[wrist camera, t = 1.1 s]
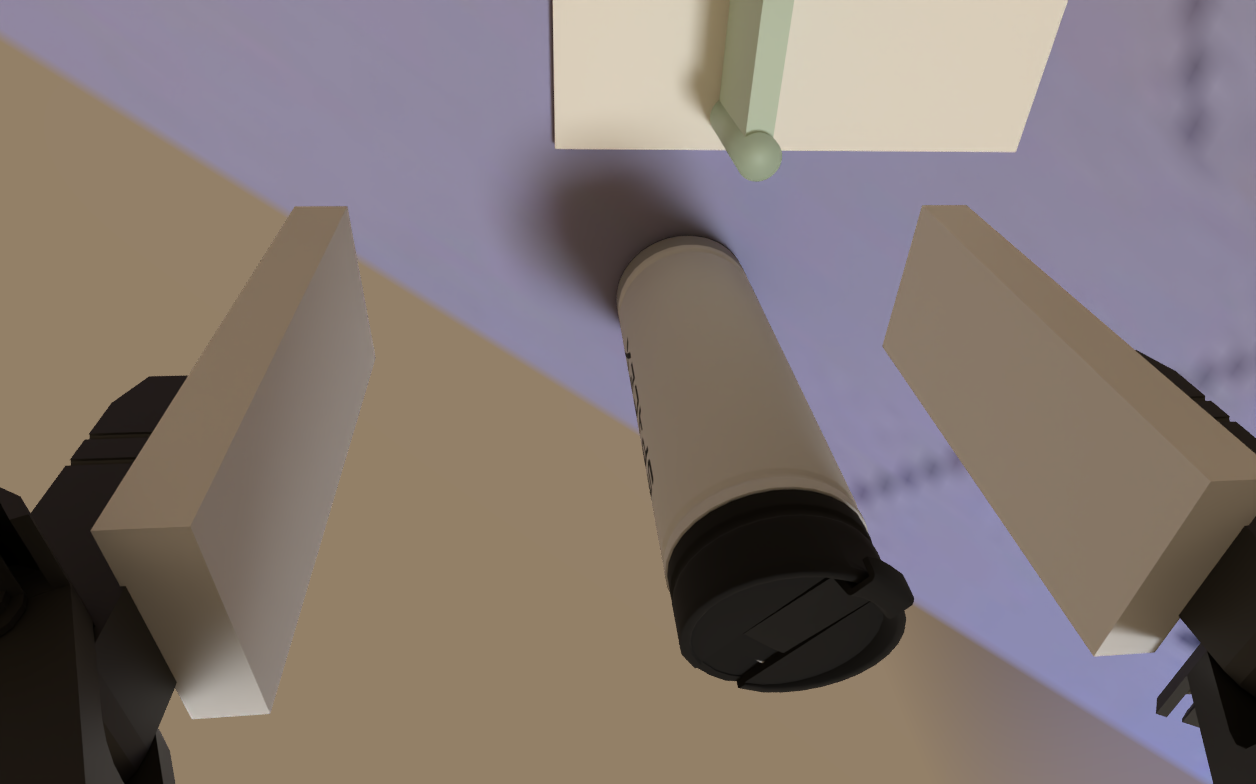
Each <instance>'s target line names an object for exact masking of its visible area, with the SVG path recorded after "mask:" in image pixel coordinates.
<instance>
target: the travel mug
mask: <svg viewBox="0 0 1256 784" xmlns="http://www.w3.org/2000/svg"><path fill="white" fill-rule="evenodd" d="M616 304H617V310H618V315H619V320H620V326H621V332H622V338H623V343H624V349H625V354H626V360H627V366H628V371H629V377H630V382H631V388H632V394H633V399H634V405H635V410H636V416H637V422H638V427H639V433H640V438H641V444H642V449H643V455H644V461H645V466H646V472H647V477H648V482H649V489H650V494H651V500H652V505H653V511H654V517H655V522H656V528H657V533H658V539H659V544H660V550H661V555H662V560H663V566H664V572H665V578H666V582H667V587H668V590H669V591H670V594H671V599H672V606H673V611H674V617H675V622H676V628H677V633H678V639H679V645H680V649H681V654H682V655H683V656H684V657H685V659H686V660H688V662H689V663H690V664H691V665H692V666H693V667H694V668H699V669H700V670H702V671H704V672H706V673H707V674H709V675H711V676H714V677H717V678H720V679H723V680H727V681H737V685H738V688H742V689H747V690H753V691H759V692H791V691H801V690H807V689H812V688H818V687H823V686H826V685H830V684H833V683H836V682H840V681H843V680H845V679H848V678H850V677H853V676H855V675H858V674H860V673H862V672H863V671H865V670H867V669H869V668H871V667H872V666H874V665H876V664H877V663H878V662H880V661H881V660H882V659H884V658H885V657H886V656H887V655H889V653H890V652H891V651H892V650H893V649H894V648H895V647H896V645H897V644H898V643H899V641H900V639H901V637H902V635H903V633H904V629H905V623H906V616H905V611H904V610H905V609H907V608H908V607H910V606H911V605H912V604H913V602H914V597H913V595H912V592H911V590H910V588H909V586H908V584H907V582H906V580H905V578H904V576H903V574H901V573H900V572H899V571H897V570H896V569H894V568H893V567H892V566H890V565H888V564H887V563H885V562H883V561H881V559H880V557H879V555H878V552H877V551H876V549H875V548H874V546H873V545H872V541H871V538H870V536H869V534H868V530H867V526H866V523H865V521H864V519H863V517H862V515H861V513H860V512H859V510H858V508H857V505H856V502H855V500H854V498H853V496H852V494H851V492H850V490H849V488H848V486H847V484H846V482H845V479H844V477H843V475H842V473H841V471H840V469H839V467H838V465H837V463H836V461H835V459H834V457H833V455H832V452H831V450H830V448H829V446H828V444H827V442H826V440H825V438H824V436H823V434H822V432H821V430H820V428H819V426H818V423H817V421H816V419H815V417H814V415H813V413H812V411H811V409H810V407H809V405H808V403H807V401H806V399H805V396H804V394H803V392H802V390H801V388H800V386H799V384H798V382H797V380H796V378H795V376H794V374H793V372H792V370H791V367H790V365H789V363H788V361H787V359H786V357H785V355H784V353H783V351H782V349H781V347H780V345H779V343H778V341H777V338H776V336H775V334H774V332H773V330H772V328H771V326H770V324H769V322H768V320H767V318H766V316H765V314H764V311H763V309H762V307H761V305H760V303H759V301H758V299H757V297H756V295H755V293H754V291H753V289H752V287H751V285H750V283H749V281H748V278H747V276H746V274H745V272H744V270H743V268H742V266H741V265H740V263H739V261H738V260H737V258H736V257H735V256H734V255H733V254H732V253H731V252H730V251H729V250H728V249H727V248H726V247H724V246H723V245H721V244H719V243H718V242H715V241H713V240H710V239H708V238H703V237H698V236H677V237H672V238H667V239H664V240H662V241H659V242H657V243H654V244H653V245H651V246H649V247H648V248H646V249H644V250H643V251H642V252H640V253H639V254H638V255H637V256H636V257H635V258H634V259H633V260H632V261H631V262H630V264H629V265H628V266H627V268H626V269H625V271H624V273H623V275H622V277H621V279H620V281H619V285H618V289H617V301H616Z"/></svg>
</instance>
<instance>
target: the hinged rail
mask: <svg viewBox="0 0 1256 784" xmlns="http://www.w3.org/2000/svg"><path fill="white" fill-rule="evenodd" d="M793 5H794V0H730V5H729V14H728V23H727V32H726V42H725V51H724V60H723V69H722V79H721V88H720V97H719V101H718V102H717V103H716V104H715V105H714V106H713V108H712V110H711V114H710V123H711V126H712V128H713V129H714V131H715V133H716V134H717V136H718V138H719V139H720V141H721V143H722V144H723V146H724V148H725V149H726V151H727V152H728V154H729V156H730V157H731V159H732V161H733V162H734V164H735V166H736V167H737V169H738V171H739V172H740V174H741V175H742V176H743V177H744V178H746V179H748V180H750V181H763V180H766V179H768V178H769V177H771V176H772V175H773V174H774V173H775V172H776V171H777V170H778V168H779V166H780V164H781V160H782V151H781V148H780V146H779V144H778V143H777V142H776V140H775V139H774V138H773V136H774V129H775V123H776V116H777V110H778V103H779V96H780V90H781V83H782V77H783V70H784V64H785V57H786V51H787V44H788V38H789V31H790V25H791V18H792V11H793Z"/></svg>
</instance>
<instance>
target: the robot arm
mask: <svg viewBox="0 0 1256 784" xmlns="http://www.w3.org/2000/svg"><path fill="white" fill-rule="evenodd" d="M883 348H884V349H885V351H886V352H887V354H888V355H889V357H890V358H891V360H892V361H893V363H894V364H895V366H896V367H897V368H898V370H899V371H900V373H901V374H902V376H903V377H904V379H905V380H906V382H907V383H908V385H909V386H910V388H911V389H912V390H913V392H914V393H915V395H916V396H917V398H918V399H919V401H920V402H921V404H922V405H923V407H924V408H925V410H926V411H927V412H928V414H929V415H930V417H931V418H932V420H933V421H934V423H935V424H936V426H937V427H938V429H939V430H940V432H941V433H942V434H943V436H944V437H945V439H946V440H947V442H948V443H949V445H950V446H951V448H952V449H953V451H954V452H955V454H956V455H957V457H958V458H959V459H960V461H961V462H962V464H963V465H964V467H965V468H966V470H967V471H968V473H969V474H970V476H971V477H972V479H973V480H974V481H975V483H976V484H977V486H978V487H979V489H980V490H981V492H982V493H983V495H984V496H985V498H986V499H987V501H988V502H989V503H990V505H991V506H992V508H993V509H994V511H995V512H996V514H997V515H998V517H999V518H1000V520H1001V521H1002V523H1003V524H1004V525H1005V527H1006V528H1007V530H1008V531H1009V533H1010V534H1011V536H1012V537H1013V539H1014V540H1015V542H1016V543H1017V545H1018V546H1019V547H1020V549H1021V550H1022V552H1023V553H1024V555H1025V556H1026V558H1027V559H1028V561H1029V562H1030V564H1031V565H1032V567H1033V568H1034V569H1035V571H1036V572H1037V574H1038V575H1039V577H1040V578H1041V580H1042V581H1043V583H1044V584H1045V586H1046V587H1047V589H1048V590H1049V591H1050V593H1051V594H1052V596H1053V597H1054V599H1055V600H1056V602H1057V603H1058V605H1059V606H1060V608H1061V609H1062V611H1063V612H1064V613H1065V615H1066V616H1067V618H1068V619H1069V621H1070V622H1071V624H1072V625H1073V627H1074V628H1075V630H1076V631H1077V633H1078V634H1079V635H1080V637H1081V638H1082V640H1083V641H1084V643H1085V644H1086V646H1087V647H1088V649H1089V650H1090V652H1091V653H1092V655H1093V656H1108V655H1123V654H1137V653H1151V652H1155V651H1156V650H1157V648H1158V647H1159V646H1160V644H1161V643H1162V642H1163V640H1164V639H1165V638H1166V636H1167V635H1168V633H1169V632H1170V631H1171V629H1172V628H1173V627H1174V625H1175V624H1176V623H1177V621H1178V620H1179V619H1180V618H1181V619H1182V621H1183V622H1184V623H1185V624H1186V625H1187V627H1188V628H1189V629H1190V630H1191V631H1192V633H1193V634H1194V635H1195V636H1196V637H1197V639H1198V640H1199V641H1200V642H1201V643H1200V645H1199V646H1198V647H1197V648H1196V650H1195V651H1194V652H1193V653H1192V655H1191V656H1190V657H1189V658H1188V660H1187V661H1186V662H1185V664H1184V665H1183V666H1182V667H1181V669H1180V670H1179V671H1178V672H1177V674H1176V675H1175V676H1174V677H1173V679H1172V680H1171V681H1170V682H1169V684H1168V685H1167V686H1166V688H1165V689H1164V690H1163V691H1162V693H1161V694H1160V695H1159V696H1158V698H1157V707H1156V714H1159V715H1162V716H1165V717H1167V716H1168V715H1169V714H1170V713H1171V711H1172V710H1173V709H1174V708H1175V706H1176V705H1177V704H1178V703H1179V702H1180V700H1181V699H1182V698H1183V697H1184V696H1185V694H1192V698H1193V702H1194V703H1193V704H1192V705H1191V707H1190V708H1189V709H1188V710H1187V712H1186V713H1185V715H1184V717H1183V718H1182V722H1184V723H1187V724H1190V725H1193V726H1197V727H1200V731H1201V735H1202V739H1203V743H1204V747H1205V751H1206V755H1207V760H1208V764H1209V768H1210V772H1211V776H1212V780H1213V784H1256V438H1255V437H1254V436H1252V435H1251V434H1250V433H1249V432H1248V431H1246V430H1245V429H1244V428H1243V427H1242V426H1240V425H1239V424H1238V423H1237V422H1230V421H1229V417H1230V416H1229V415H1227V414H1226V413H1225V412H1224V411H1223V410H1221V409H1220V408H1219V407H1218V406H1217V405H1215V404H1214V403H1213V402H1212V401H1205V395H1203V394H1202V393H1201V392H1200V391H1199V390H1198V389H1196V388H1195V387H1194V386H1193V385H1192V384H1190V383H1189V382H1188V381H1187V380H1186V379H1184V378H1183V377H1182V376H1181V375H1180V374H1178V373H1177V372H1176V371H1174V370H1172V369H1171V368H1169V367H1167V366H1165V365H1163V364H1161V363H1159V362H1158V361H1156V360H1154V359H1152V358H1150V357H1148V356H1146V355H1144V354H1143V353H1141V352H1139V351H1137V350H1134V349H1133V348H1132V347H1131V346H1129V345H1128V344H1127V343H1126V342H1125V341H1124V340H1122V339H1121V338H1120V337H1119V336H1118V335H1117V334H1115V333H1114V332H1113V331H1112V330H1111V329H1110V328H1108V327H1107V326H1106V325H1105V324H1104V323H1103V322H1101V321H1100V320H1099V319H1098V318H1097V317H1096V316H1094V315H1093V314H1092V313H1091V312H1090V311H1089V310H1088V309H1086V308H1085V307H1084V306H1083V305H1082V304H1081V303H1079V302H1078V301H1077V300H1076V299H1075V298H1074V297H1072V296H1071V295H1070V294H1069V293H1068V292H1067V291H1065V290H1064V289H1063V288H1062V287H1061V286H1060V285H1058V284H1057V283H1056V282H1055V281H1054V280H1053V279H1051V278H1050V277H1049V276H1048V275H1047V274H1046V273H1044V272H1043V271H1042V270H1041V269H1040V268H1039V267H1038V266H1036V265H1035V264H1034V263H1033V262H1032V261H1031V260H1029V259H1028V258H1027V257H1026V256H1025V255H1024V254H1022V253H1021V252H1020V251H1019V250H1018V249H1017V248H1015V247H1014V246H1013V245H1012V244H1011V243H1010V242H1008V241H1007V240H1006V239H1005V238H1004V237H1003V236H1001V235H1000V234H999V233H998V232H997V231H996V230H994V229H993V228H992V227H991V226H990V225H989V224H987V223H986V222H985V221H984V220H983V219H982V218H981V217H979V216H978V215H977V214H976V213H975V212H974V211H972V210H971V209H970V208H969V207H968V206H967V205H922V208H921V212H920V215H919V219H918V222H917V226H916V229H915V233H914V236H913V240H912V243H911V247H910V251H909V254H908V258H907V261H906V265H905V268H904V272H903V275H902V279H901V282H900V286H899V290H898V293H897V297H896V300H895V304H894V307H893V311H892V314H891V318H890V321H889V325H888V328H887V332H886V336H885V339H884V343H883ZM374 361H375V353H374V347H373V342H372V337H371V331H370V325H369V321H368V315H367V309H366V305H365V299H364V293H363V288H362V283H361V277H360V272H359V267H358V261H357V256H356V251H355V245H354V240H353V234H352V229H351V224H350V218H349V213H348V208H347V206H311V207H294V209H293V210H292V212H291V213H290V215H289V217H288V218H287V220H286V221H285V223H284V224H283V226H282V228H281V229H280V231H279V232H278V234H277V236H276V237H275V239H274V240H273V242H272V244H271V245H270V247H269V248H268V250H267V251H266V253H265V255H264V256H263V258H262V260H261V261H260V263H259V264H258V266H257V267H256V269H255V271H254V272H253V274H252V275H251V277H250V279H249V280H248V282H247V283H246V285H245V286H244V288H243V289H242V291H241V293H240V294H239V296H238V298H237V299H236V301H235V302H234V304H233V305H232V307H231V309H230V310H229V312H228V313H227V315H226V317H225V318H224V320H223V321H222V323H221V325H220V326H219V328H218V329H217V331H216V332H215V334H214V336H213V337H212V339H211V340H210V342H209V343H208V345H207V347H206V348H205V350H204V352H203V353H202V355H201V356H200V358H199V359H198V361H197V363H196V364H195V366H194V367H193V369H192V370H191V372H190V374H189V375H188V376H152V377H148V378H146V379H145V380H144V381H142V382H141V383H139V384H138V385H136V386H135V387H134V388H132V389H131V390H130V391H128V392H127V393H125V394H124V395H122V396H121V397H119V398H118V399H117V400H115V401H114V402H112V403H111V405H110V406H109V407H108V409H107V410H106V412H105V413H104V414H103V416H102V417H101V418H100V420H99V421H98V423H97V424H96V425H95V426H94V428H93V429H92V431H91V432H90V433H89V434H90V439H89V440H84V441H83V443H82V444H81V446H80V447H79V448H78V450H77V451H76V452H75V454H74V455H73V456H72V458H71V466H65V467H64V469H63V470H62V471H61V473H60V474H59V475H58V477H57V478H56V480H55V481H54V482H53V484H52V485H51V487H50V488H49V489H48V490H47V492H46V493H45V495H44V496H43V497H42V499H41V500H40V501H39V503H38V504H37V505H36V507H35V508H34V509H33V511H32V512H31V514H30V512H29V510H28V508H27V507H26V505H25V504H24V502H23V500H22V499H21V497H20V496H18V495H16V494H14V493H11V492H9V491H7V490H5V489H3V488H0V784H175V779H174V773H173V767H172V761H171V755H170V750H169V749H168V746H167V744H166V742H165V740H164V738H163V736H162V734H161V732H160V731H159V729H158V727H159V724H160V722H161V720H162V717H163V715H164V712H165V710H166V707H167V705H168V703H169V700H170V698H171V696H172V693H173V691H174V688H175V689H176V690H177V692H178V694H179V696H180V698H181V700H182V702H183V704H184V705H185V707H186V709H187V711H188V713H189V715H190V716H191V718H192V719H202V718H217V717H231V716H244V715H245V716H246V715H260V714H270V712H271V709H272V706H273V702H274V699H275V695H276V692H277V689H278V685H279V682H280V679H281V675H282V672H283V668H284V665H285V662H286V658H287V655H288V652H289V648H290V645H291V642H292V638H293V635H294V631H295V628H296V624H297V621H298V618H299V614H300V611H301V608H302V604H303V601H304V597H305V594H306V591H307V587H308V584H309V581H310V577H311V574H312V570H313V567H314V564H315V560H316V557H317V554H318V550H319V547H320V543H321V540H322V537H323V533H324V530H325V526H326V523H327V520H328V517H329V513H330V510H331V506H332V503H333V499H334V496H335V493H336V489H337V486H338V483H339V479H340V476H341V473H342V469H343V466H344V462H345V459H346V456H347V452H348V449H349V445H350V442H351V438H352V435H353V431H354V429H355V425H356V422H357V419H358V415H359V412H360V408H361V405H362V401H363V398H364V395H365V392H366V388H367V385H368V381H369V378H370V375H371V371H372V368H373V364H374Z"/></svg>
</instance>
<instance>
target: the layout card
mask: <svg viewBox="0 0 1256 784" xmlns="http://www.w3.org/2000/svg"><path fill="white" fill-rule="evenodd" d="M1067 2H1068V0H794V5H793V11H792V18H791V25H790V31H789V38H788V44H787V51H786V57H785V64H784V70H783V77H782V83H781V90H780V96H779V103H778V110H777V116H776V123H775V129H774V136H773V138H774V139H775V140H776V142H777V143H778V144H779V146H780V148H781V150H784V151H929V152H1016V150H1017V147H1018V144H1019V141H1020V138H1021V135H1022V132H1023V129H1024V127H1025V124H1026V121H1027V118H1028V115H1029V112H1030V109H1031V106H1032V103H1033V100H1034V97H1035V95H1036V92H1037V89H1038V86H1039V83H1040V80H1041V77H1042V74H1043V71H1044V68H1045V66H1046V63H1047V60H1048V57H1049V54H1050V51H1051V48H1052V45H1053V42H1054V39H1055V36H1056V34H1057V31H1058V28H1059V25H1060V22H1061V19H1062V16H1063V13H1064V10H1065V7H1066V4H1067ZM729 5H730V0H553V59H554V122H555V149H638V150H726V149H725V148H724V146H723V144H722V143H721V141H720V139H719V138H718V136H717V134H716V133H715V131H714V129H713V128H712V126H711V123H710V114H711V110H712V108H713V106H714V105H715V104H716V103H717V102H718V101H719V97H720V88H721V79H722V69H723V60H724V51H725V42H726V32H727V23H728V14H729Z"/></svg>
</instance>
